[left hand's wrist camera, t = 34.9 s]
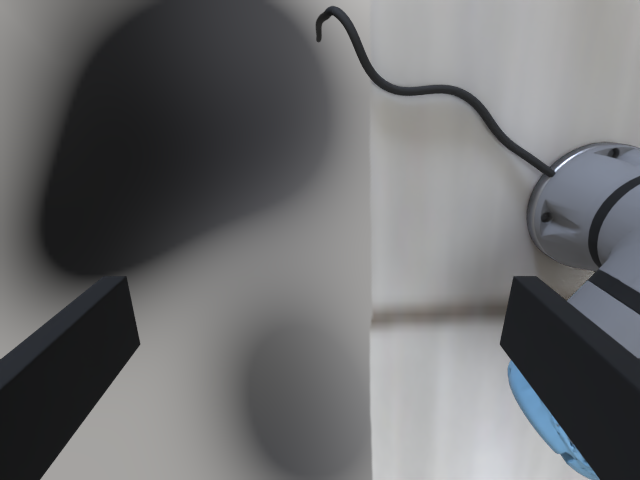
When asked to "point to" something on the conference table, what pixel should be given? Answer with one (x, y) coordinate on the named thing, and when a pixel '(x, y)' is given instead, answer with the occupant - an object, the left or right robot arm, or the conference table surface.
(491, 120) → the left robot arm
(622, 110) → the conference table surface
